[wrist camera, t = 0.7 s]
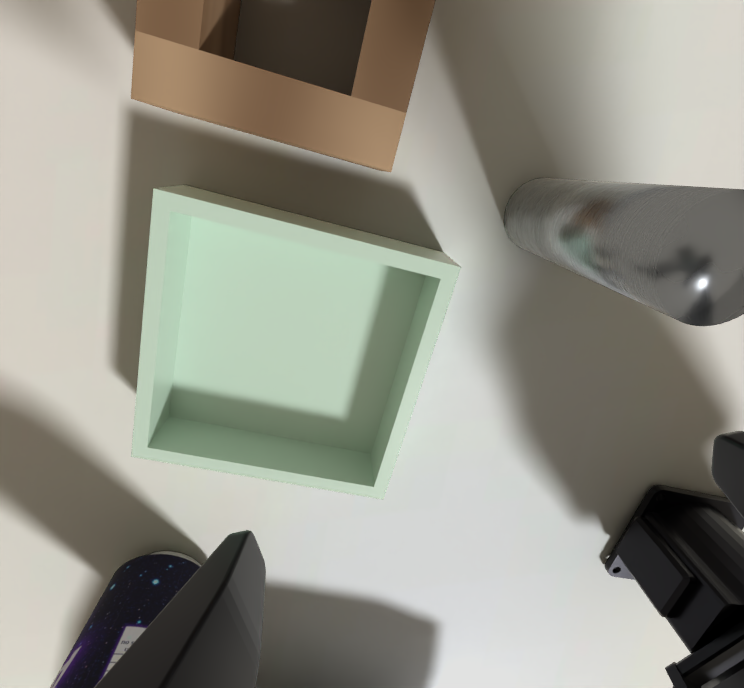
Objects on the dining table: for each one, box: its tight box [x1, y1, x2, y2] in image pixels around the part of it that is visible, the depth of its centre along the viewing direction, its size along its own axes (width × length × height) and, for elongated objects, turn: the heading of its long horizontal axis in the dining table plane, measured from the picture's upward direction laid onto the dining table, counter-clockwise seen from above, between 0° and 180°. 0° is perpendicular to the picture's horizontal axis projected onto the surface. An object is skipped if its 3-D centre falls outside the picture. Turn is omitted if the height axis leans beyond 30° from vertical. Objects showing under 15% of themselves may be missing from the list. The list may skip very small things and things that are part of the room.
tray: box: [131, 185, 461, 500], centre depth 19 cm, size 11×11×3 cm
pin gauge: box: [504, 178, 744, 326], centre depth 14 cm, size 3×3×10 cm
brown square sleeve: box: [131, 0, 435, 172], centre depth 14 cm, size 8×8×4 cm
